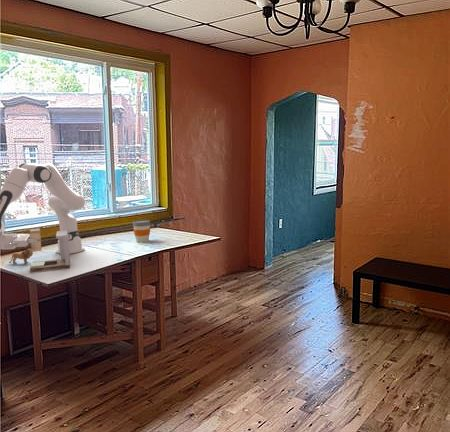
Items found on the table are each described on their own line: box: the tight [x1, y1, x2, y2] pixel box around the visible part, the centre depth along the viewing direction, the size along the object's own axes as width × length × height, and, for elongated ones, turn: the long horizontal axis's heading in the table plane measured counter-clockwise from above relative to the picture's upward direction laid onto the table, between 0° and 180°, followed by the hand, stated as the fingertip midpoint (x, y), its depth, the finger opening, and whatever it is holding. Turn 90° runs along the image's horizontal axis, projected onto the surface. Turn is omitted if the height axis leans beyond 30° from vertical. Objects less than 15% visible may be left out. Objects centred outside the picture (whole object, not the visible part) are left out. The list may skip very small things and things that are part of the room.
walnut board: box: [29, 258, 71, 273], centre depth 265 cm, size 16×21×2 cm
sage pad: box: [30, 261, 45, 268], centre depth 262 cm, size 9×7×1 cm
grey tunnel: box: [55, 230, 71, 265], centre depth 265 cm, size 16×6×18 cm, turn 18°
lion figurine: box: [8, 248, 34, 265], centre depth 273 cm, size 15×5×9 cm, turn 95°
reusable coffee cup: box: [132, 219, 151, 244], centre depth 328 cm, size 13×13×15 cm
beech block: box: [29, 228, 42, 253], centre depth 260 cm, size 5×5×12 cm
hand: (37, 239), depth 260 cm, fingers closed on beech block, 5 cm apart
